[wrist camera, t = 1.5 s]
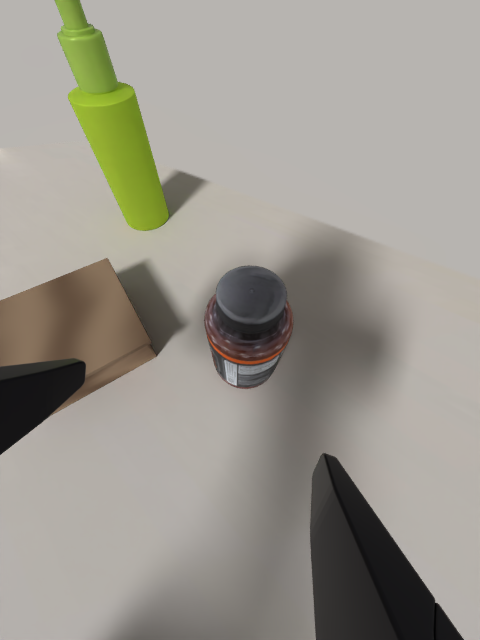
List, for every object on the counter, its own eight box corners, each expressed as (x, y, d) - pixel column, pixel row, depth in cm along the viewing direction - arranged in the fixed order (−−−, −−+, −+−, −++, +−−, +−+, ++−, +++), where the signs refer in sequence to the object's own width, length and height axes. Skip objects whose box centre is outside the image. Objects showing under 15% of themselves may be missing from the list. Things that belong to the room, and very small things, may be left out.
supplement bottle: (214, 333, 24) (199, 251, 14) (271, 331, 24) (296, 249, 14) (213, 392, 21) (194, 340, 11) (278, 389, 21) (315, 337, 11)
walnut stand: (41, 426, 19) (-1, 421, 16) (19, 328, 24) (-18, 307, 20) (163, 357, 23) (150, 340, 19) (123, 282, 27) (107, 258, 23)
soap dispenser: (179, 224, 32) (114, -43, 15) (128, 234, 31) (-8, -43, 14) (171, 199, 35) (109, -51, 18) (124, 208, 34) (6, -52, 16)
